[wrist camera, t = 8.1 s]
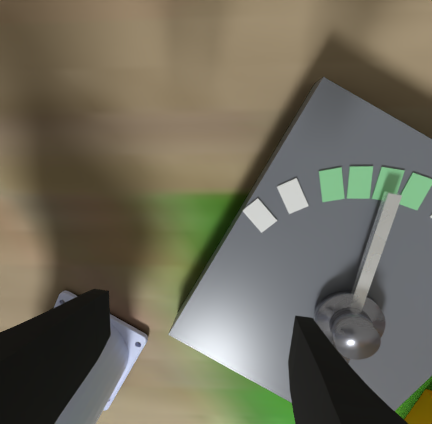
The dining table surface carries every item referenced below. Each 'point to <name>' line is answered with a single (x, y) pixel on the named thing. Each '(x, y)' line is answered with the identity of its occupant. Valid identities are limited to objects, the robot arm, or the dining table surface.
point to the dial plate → (323, 248)
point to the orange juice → (421, 410)
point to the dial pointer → (360, 296)
